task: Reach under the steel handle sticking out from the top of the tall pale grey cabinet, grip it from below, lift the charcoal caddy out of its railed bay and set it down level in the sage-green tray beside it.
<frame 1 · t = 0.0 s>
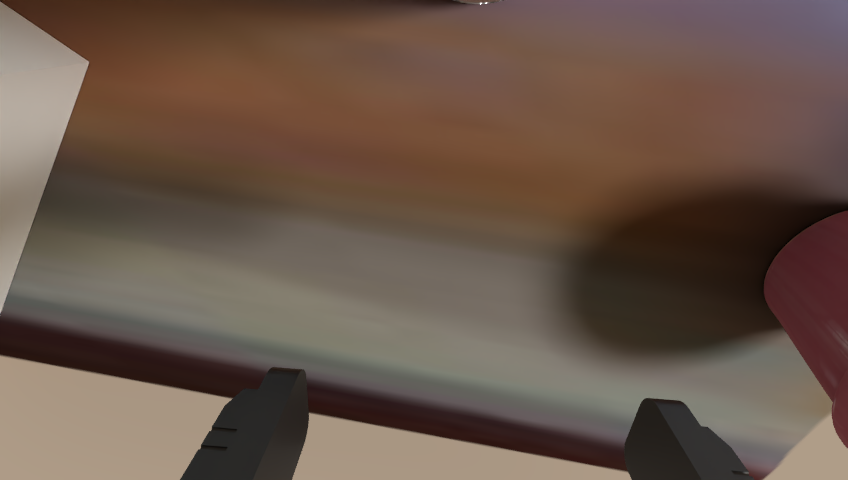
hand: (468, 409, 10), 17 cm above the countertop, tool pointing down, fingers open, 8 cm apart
plant pot: (836, 265, 27), on the countertop
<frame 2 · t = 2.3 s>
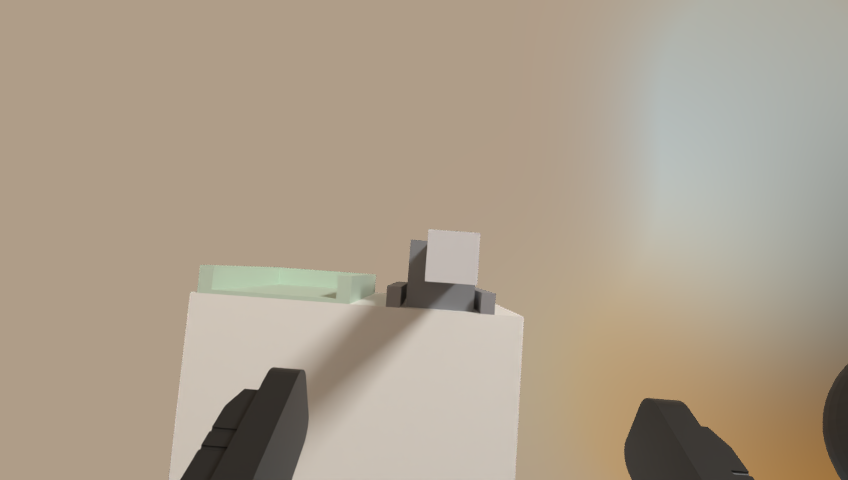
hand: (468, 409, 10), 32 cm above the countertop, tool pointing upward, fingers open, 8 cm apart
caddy: (437, 304, 35), point 32 cm above the countertop, touching cabinet
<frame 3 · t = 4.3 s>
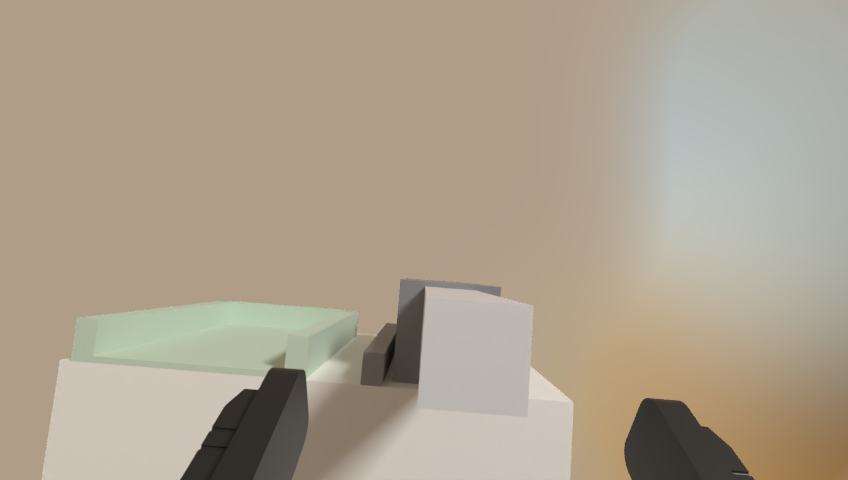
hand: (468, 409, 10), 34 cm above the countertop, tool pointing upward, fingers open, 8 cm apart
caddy: (439, 364, 25), point 32 cm above the countertop, touching cabinet
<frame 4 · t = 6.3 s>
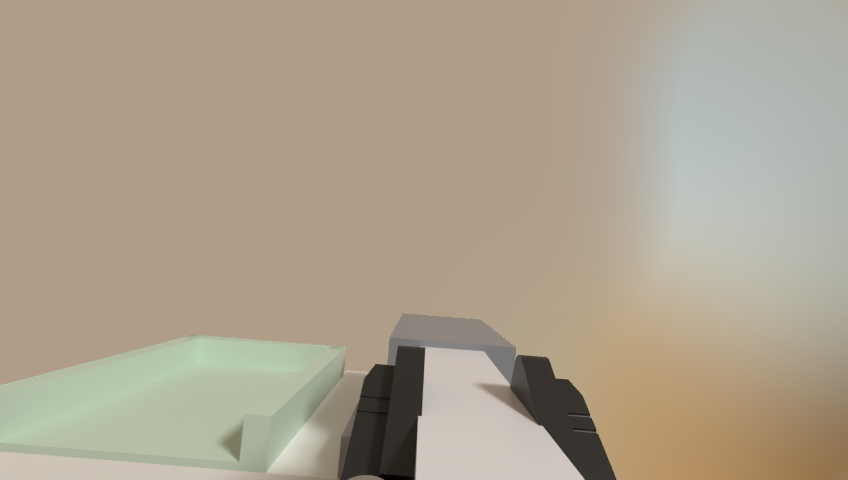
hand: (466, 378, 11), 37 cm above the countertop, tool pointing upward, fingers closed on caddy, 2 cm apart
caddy: (438, 426, 21), point 32 cm above the countertop, touching cabinet, gripper
when the fingers open (38 cm above the countertop, at t = 11.1 s): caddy stays where it is, resting on cabinet.
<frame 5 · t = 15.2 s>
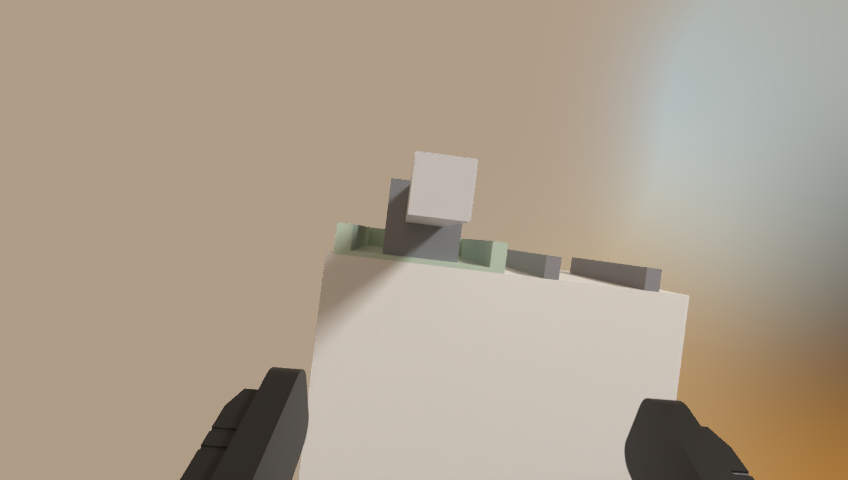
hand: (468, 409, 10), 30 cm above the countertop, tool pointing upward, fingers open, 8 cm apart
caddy: (417, 254, 32), point 32 cm above the countertop, touching cabinet
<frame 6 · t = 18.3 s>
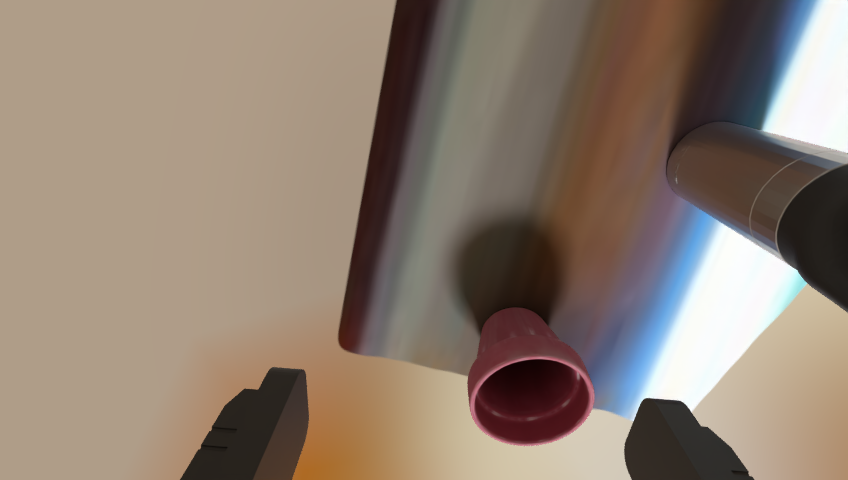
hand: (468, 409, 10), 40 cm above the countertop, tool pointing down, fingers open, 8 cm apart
plant pot: (513, 332, 58), on the countertop
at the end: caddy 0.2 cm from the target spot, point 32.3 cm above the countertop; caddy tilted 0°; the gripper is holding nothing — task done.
